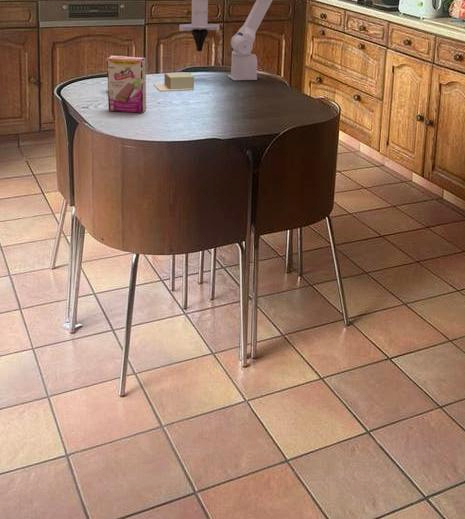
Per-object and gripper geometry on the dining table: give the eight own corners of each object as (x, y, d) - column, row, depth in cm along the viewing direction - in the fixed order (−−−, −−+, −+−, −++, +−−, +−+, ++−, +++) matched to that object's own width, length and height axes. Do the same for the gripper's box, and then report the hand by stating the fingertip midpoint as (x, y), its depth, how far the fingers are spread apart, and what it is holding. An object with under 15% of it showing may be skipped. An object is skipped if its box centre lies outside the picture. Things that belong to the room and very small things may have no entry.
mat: (186, 83, 265) (186, 82, 265) (193, 90, 256) (193, 89, 256) (153, 84, 261) (153, 84, 261) (159, 91, 253) (159, 90, 253)
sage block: (188, 72, 262) (164, 73, 259) (194, 76, 256) (168, 77, 253) (188, 83, 264) (164, 84, 261) (193, 88, 258) (169, 89, 255)
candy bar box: (108, 111, 227) (105, 58, 220) (112, 107, 232) (110, 55, 224) (143, 113, 226) (142, 60, 219) (146, 109, 231) (145, 57, 223)
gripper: (182, 13, 256) (182, 53, 262) (222, 13, 260) (221, 52, 266) (177, 11, 262) (178, 49, 268) (216, 10, 266) (215, 48, 272)
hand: (199, 50), depth 267 cm, fingers closed
